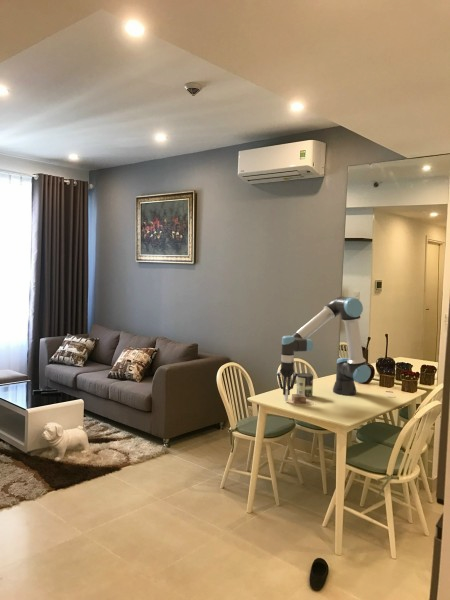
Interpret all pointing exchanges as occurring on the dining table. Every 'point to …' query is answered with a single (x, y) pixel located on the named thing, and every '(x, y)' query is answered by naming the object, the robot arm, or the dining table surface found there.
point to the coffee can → (305, 384)
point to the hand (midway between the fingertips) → (286, 400)
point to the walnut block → (299, 398)
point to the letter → (308, 402)
